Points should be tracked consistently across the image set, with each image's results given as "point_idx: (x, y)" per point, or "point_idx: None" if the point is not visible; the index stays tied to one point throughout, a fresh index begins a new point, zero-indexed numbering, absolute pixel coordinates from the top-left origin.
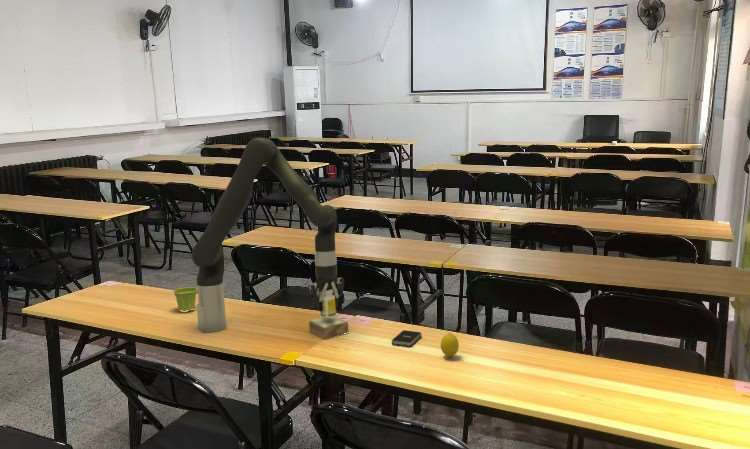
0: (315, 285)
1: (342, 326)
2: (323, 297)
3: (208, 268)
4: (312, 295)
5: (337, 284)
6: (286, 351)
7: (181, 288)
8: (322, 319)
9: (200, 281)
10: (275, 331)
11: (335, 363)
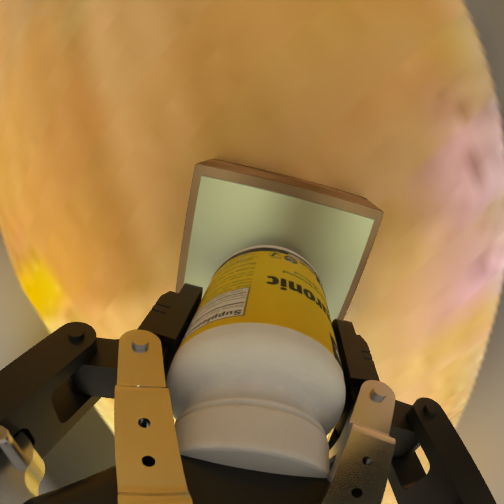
0: (22, 495)
1: None
2: (175, 418)
3: None
4: (54, 363)
5: (451, 485)
6: (38, 254)
7: None
8: (270, 222)
9: None
10: (122, 25)
11: (110, 410)
